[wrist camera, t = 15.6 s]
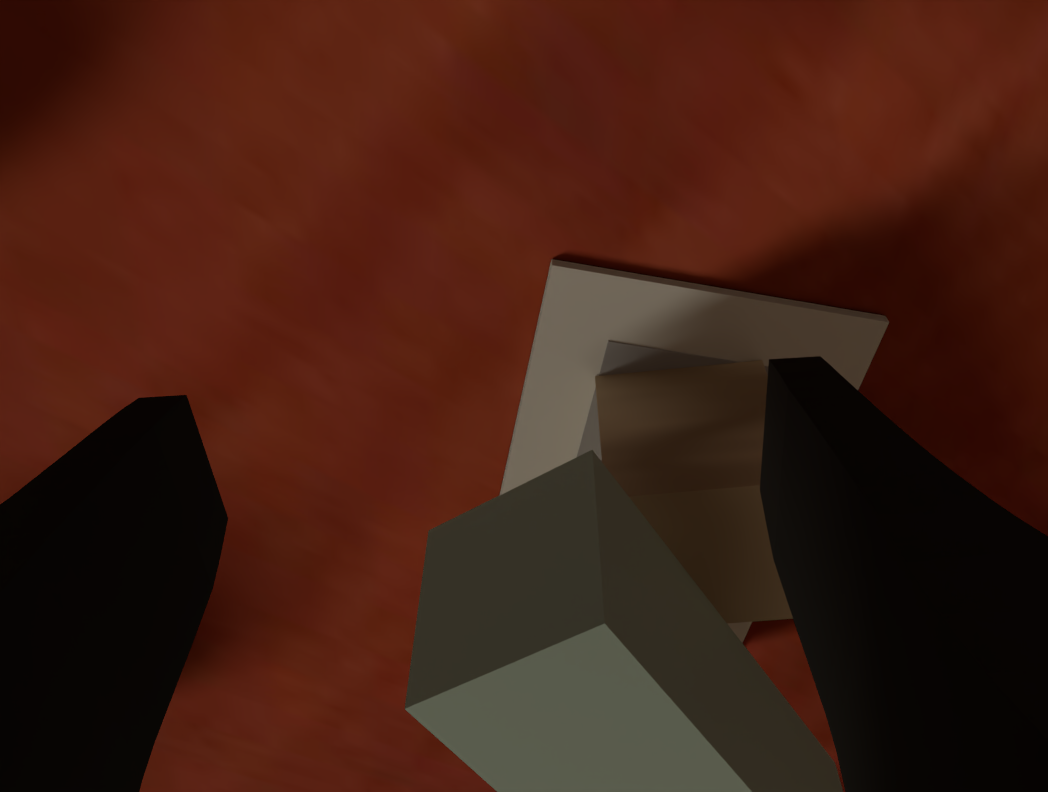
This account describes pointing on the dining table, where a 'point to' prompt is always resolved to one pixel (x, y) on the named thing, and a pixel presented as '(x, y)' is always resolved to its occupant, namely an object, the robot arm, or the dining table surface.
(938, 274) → the dining table surface
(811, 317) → the mat
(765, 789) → the beam
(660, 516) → the block
